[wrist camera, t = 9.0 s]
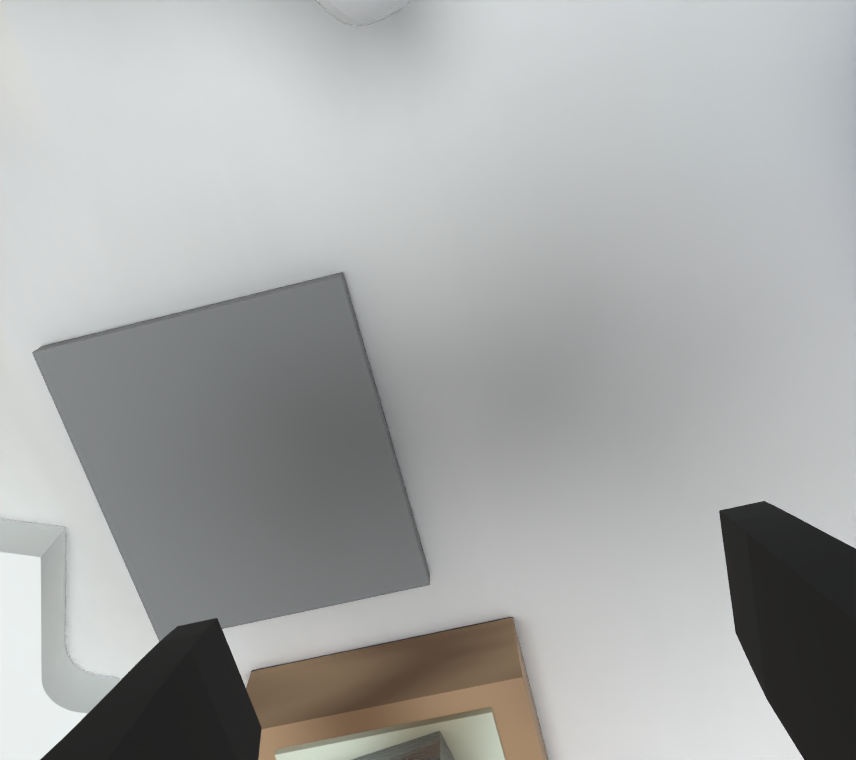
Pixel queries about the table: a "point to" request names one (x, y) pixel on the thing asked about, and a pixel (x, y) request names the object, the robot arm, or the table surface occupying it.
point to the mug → (361, 10)
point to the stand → (403, 699)
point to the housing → (414, 750)
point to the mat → (241, 457)
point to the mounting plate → (38, 645)
